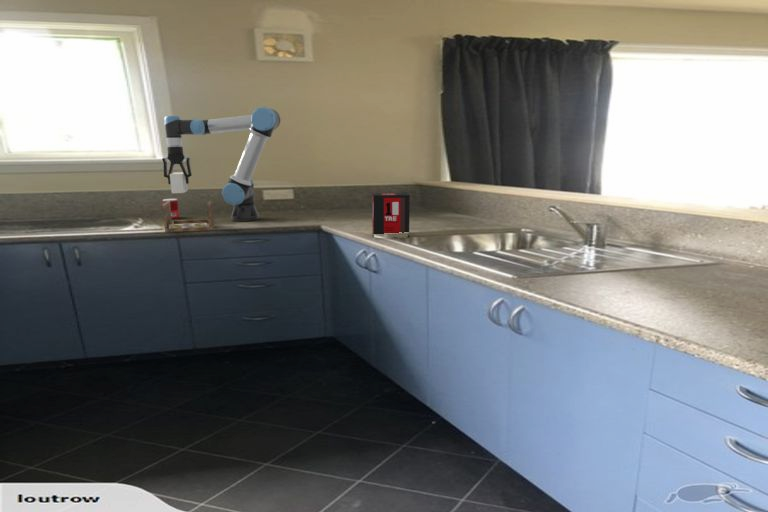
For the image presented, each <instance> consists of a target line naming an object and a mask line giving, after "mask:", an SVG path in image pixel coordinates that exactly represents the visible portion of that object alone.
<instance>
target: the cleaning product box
mask: <svg viewBox="0 0 768 512" xmlns="http://www.w3.org/2000/svg"><path fill="white" fill-rule="evenodd" d="M371 195H372V197H371V200H372V201H371V203H372V204H371V205H372V208H371V209H372V216H371V217H372V221H371V223H372V235H373V234H384V233H399V232H402V233H404V232H409V233H410V199H411V197H410V196H411V195H410V194H409V193H408V192H396V193H395V192H389V193H388V192H384V193H383V192H381V193H380V192H377V193H376V192H375V193H374V192H373V193H371Z"/></svg>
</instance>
